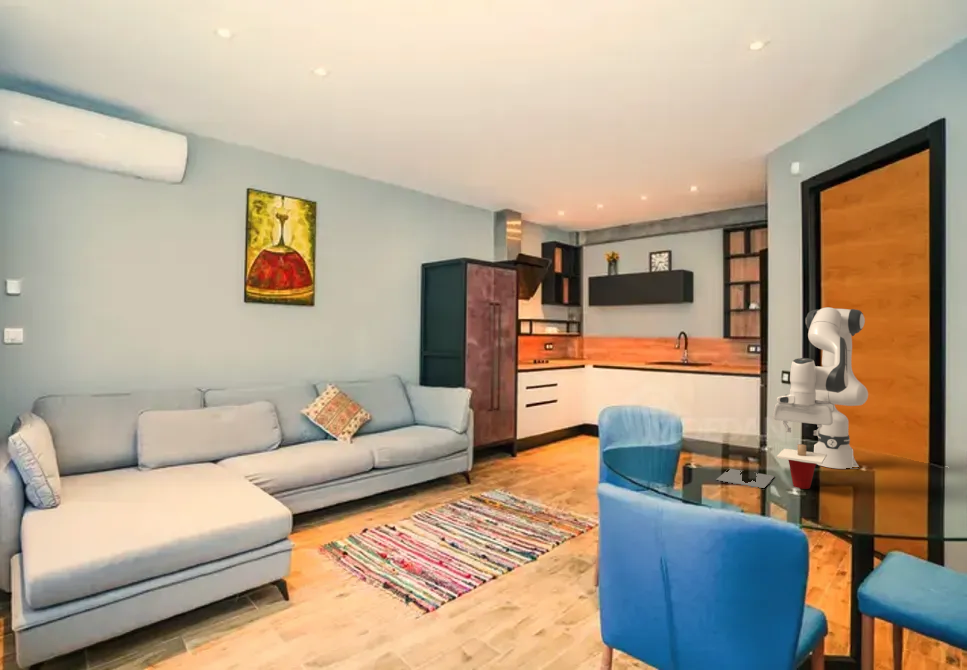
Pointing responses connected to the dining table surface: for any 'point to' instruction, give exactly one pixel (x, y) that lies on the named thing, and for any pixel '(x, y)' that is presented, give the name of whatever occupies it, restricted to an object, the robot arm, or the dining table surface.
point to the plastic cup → (801, 473)
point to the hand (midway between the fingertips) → (802, 433)
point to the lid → (802, 455)
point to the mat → (736, 478)
